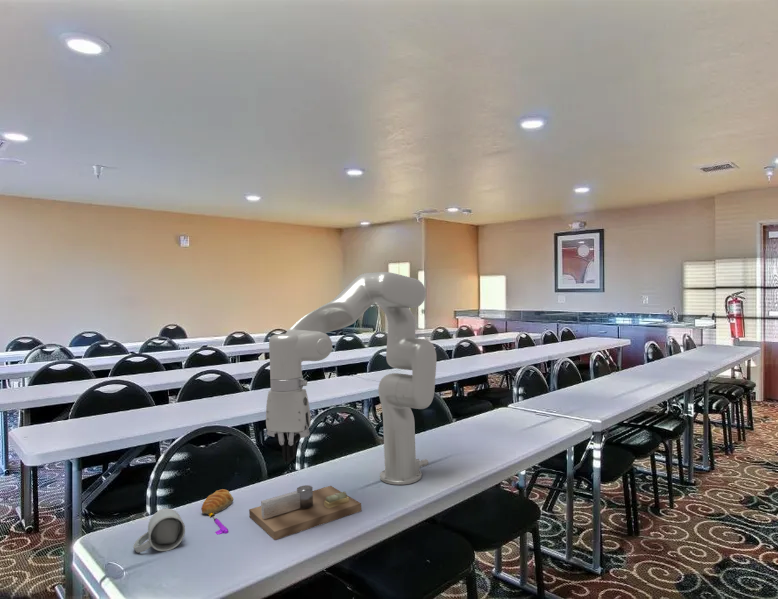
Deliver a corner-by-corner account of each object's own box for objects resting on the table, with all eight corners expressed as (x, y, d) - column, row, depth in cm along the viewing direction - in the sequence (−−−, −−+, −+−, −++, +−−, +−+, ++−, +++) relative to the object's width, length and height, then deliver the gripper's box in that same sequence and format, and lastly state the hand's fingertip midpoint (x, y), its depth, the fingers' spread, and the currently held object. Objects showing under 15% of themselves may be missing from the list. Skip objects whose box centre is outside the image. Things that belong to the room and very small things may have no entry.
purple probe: (229, 533, 125) (210, 511, 138) (228, 528, 125) (209, 507, 138) (218, 538, 123) (200, 516, 136) (217, 534, 123) (199, 512, 136)
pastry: (218, 516, 134) (217, 502, 134) (194, 515, 135) (193, 501, 135) (235, 501, 143) (234, 488, 143) (212, 501, 144) (212, 487, 144)
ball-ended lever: (308, 500, 136) (308, 484, 136) (315, 505, 133) (315, 488, 133) (259, 515, 128) (259, 497, 128) (266, 520, 125) (265, 502, 125)
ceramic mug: (180, 532, 126) (178, 501, 126) (186, 546, 119) (184, 513, 119) (132, 545, 120) (130, 512, 120) (135, 560, 113) (133, 526, 113)
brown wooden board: (330, 492, 147) (330, 475, 147) (361, 510, 134) (360, 492, 134) (249, 517, 133) (248, 498, 133) (274, 540, 120) (273, 519, 120)
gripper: (321, 382, 127) (323, 456, 127) (265, 381, 130) (268, 453, 131) (309, 388, 119) (311, 467, 120) (250, 387, 123) (253, 463, 123)
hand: (289, 460), depth 125 cm, fingers closed
